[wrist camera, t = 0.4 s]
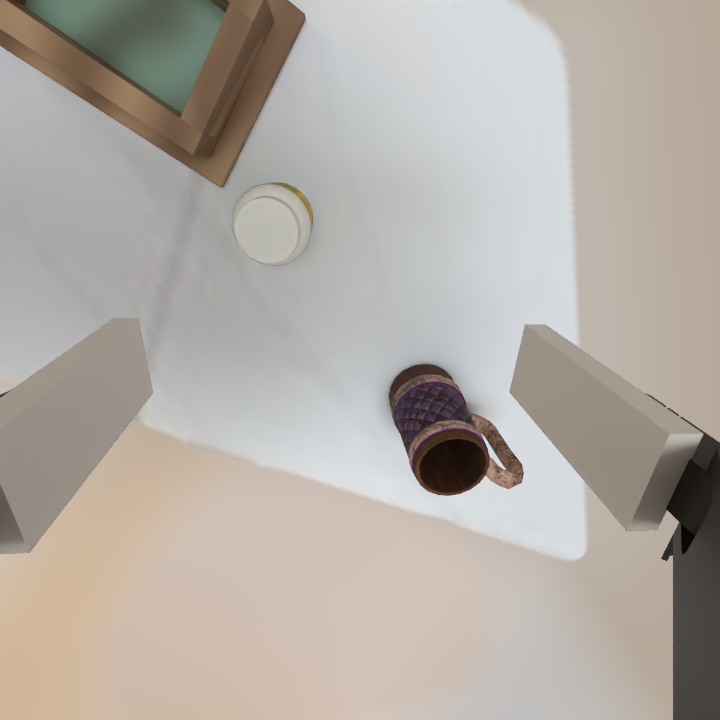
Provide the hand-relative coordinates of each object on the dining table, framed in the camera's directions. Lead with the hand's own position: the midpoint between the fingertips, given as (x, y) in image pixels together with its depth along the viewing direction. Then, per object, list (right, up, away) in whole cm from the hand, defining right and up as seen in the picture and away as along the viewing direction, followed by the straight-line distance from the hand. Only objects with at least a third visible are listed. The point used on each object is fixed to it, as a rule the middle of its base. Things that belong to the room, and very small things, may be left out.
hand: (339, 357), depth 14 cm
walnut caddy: (-14, +23, +14) cm, 30 cm away
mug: (+9, -4, +28) cm, 30 cm away
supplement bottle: (-6, +12, +20) cm, 24 cm away
